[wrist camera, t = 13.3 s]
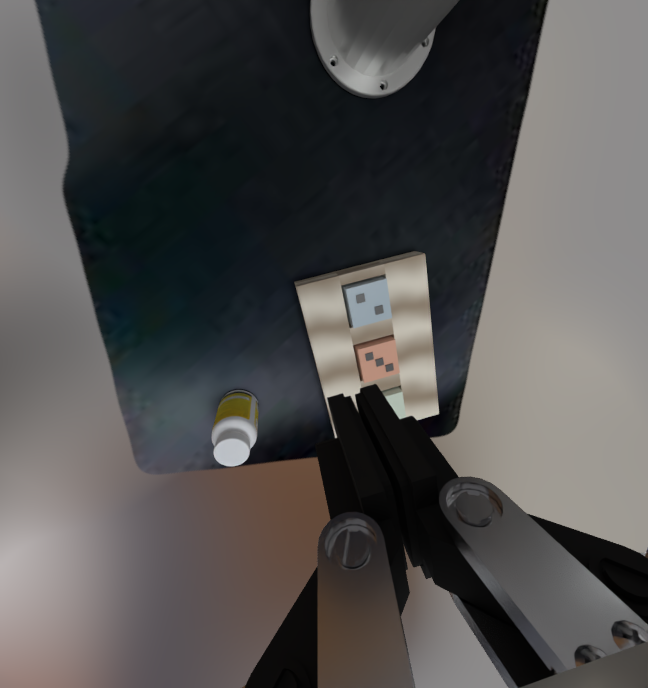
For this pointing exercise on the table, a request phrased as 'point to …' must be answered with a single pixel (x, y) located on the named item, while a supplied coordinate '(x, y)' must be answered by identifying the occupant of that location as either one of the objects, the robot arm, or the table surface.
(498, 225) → the table surface
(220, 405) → the supplement bottle
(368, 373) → the key three dots
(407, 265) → the key panel
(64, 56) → the table surface
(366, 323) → the key two dots
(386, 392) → the key one dot
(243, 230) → the table surface
